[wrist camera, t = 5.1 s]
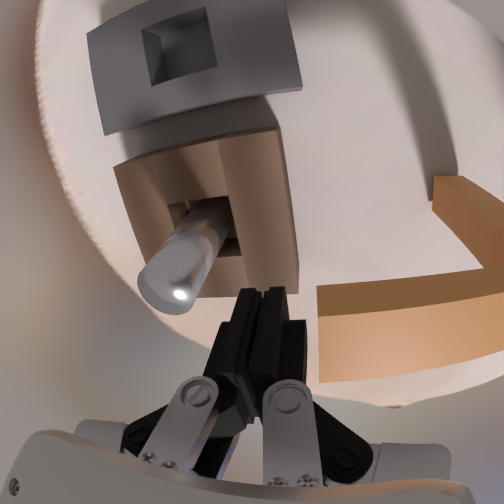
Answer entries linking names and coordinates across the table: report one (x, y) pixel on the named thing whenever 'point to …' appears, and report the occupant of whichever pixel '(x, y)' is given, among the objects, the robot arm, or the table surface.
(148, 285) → the grey metal rod
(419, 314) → the orange angle bracket
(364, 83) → the table surface
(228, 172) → the socket block
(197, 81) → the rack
